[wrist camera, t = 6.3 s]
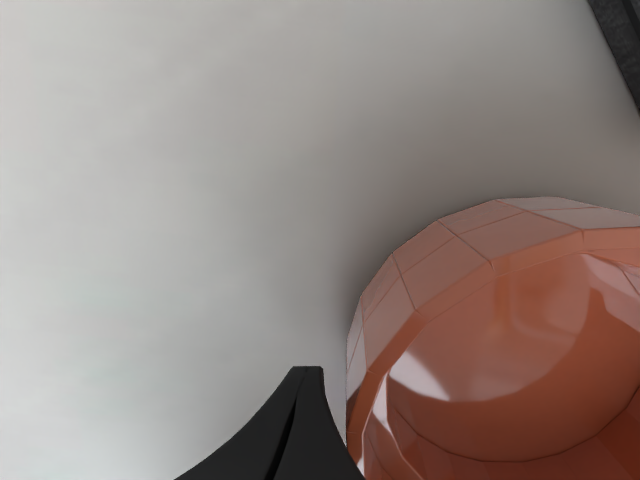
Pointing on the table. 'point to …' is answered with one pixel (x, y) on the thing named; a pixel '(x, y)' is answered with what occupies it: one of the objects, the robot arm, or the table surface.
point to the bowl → (501, 348)
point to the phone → (622, 36)
